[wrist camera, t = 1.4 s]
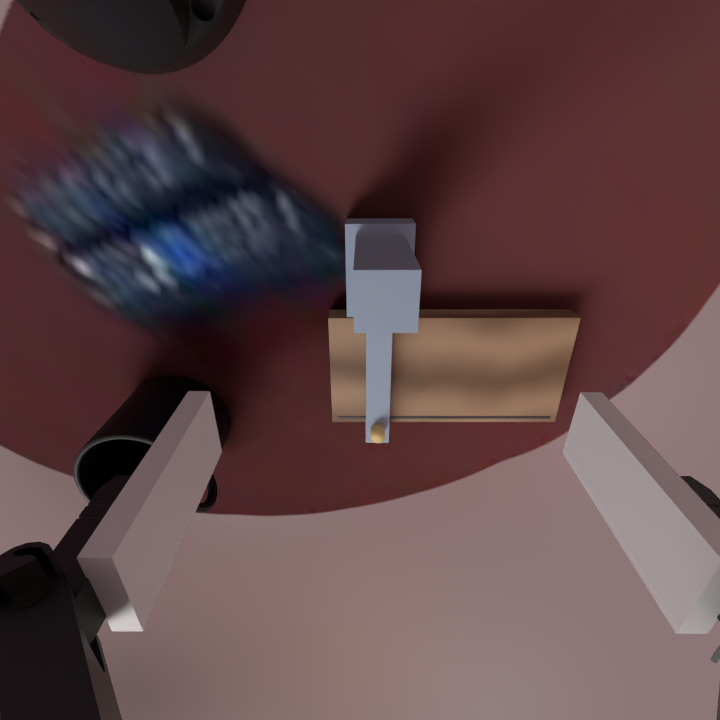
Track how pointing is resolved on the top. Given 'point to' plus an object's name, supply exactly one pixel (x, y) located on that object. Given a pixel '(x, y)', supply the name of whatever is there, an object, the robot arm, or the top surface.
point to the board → (460, 366)
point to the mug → (140, 434)
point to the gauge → (381, 302)
